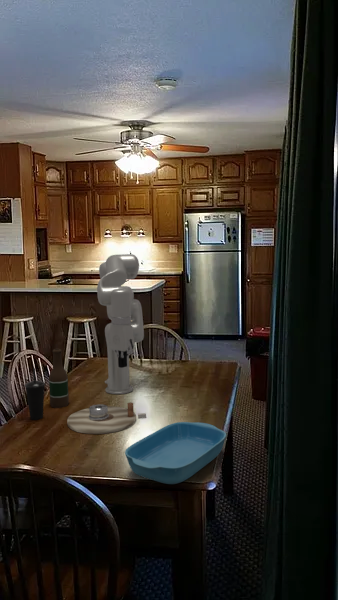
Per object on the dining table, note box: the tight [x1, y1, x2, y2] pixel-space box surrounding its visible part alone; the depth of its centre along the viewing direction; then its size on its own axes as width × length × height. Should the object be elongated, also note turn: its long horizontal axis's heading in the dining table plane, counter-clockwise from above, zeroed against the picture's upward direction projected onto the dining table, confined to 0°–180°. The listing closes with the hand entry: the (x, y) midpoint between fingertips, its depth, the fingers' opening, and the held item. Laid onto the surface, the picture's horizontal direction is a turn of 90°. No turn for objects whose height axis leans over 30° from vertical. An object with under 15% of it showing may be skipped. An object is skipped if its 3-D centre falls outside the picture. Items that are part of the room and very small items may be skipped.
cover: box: [88, 403, 109, 421], centre depth 199 cm, size 8×8×4 cm
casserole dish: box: [124, 421, 227, 485], centre depth 162 cm, size 37×22×7 cm, turn 146°
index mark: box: [137, 412, 147, 419], centre depth 203 cm, size 3×1×2 cm, turn 102°
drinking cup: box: [24, 367, 46, 421], centre depth 204 cm, size 8×8×20 cm
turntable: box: [66, 401, 137, 435], centre depth 199 cm, size 26×26×6 cm
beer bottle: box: [48, 348, 70, 409], centre depth 218 cm, size 8×8×24 cm
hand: (122, 366), depth 205 cm, fingers closed
